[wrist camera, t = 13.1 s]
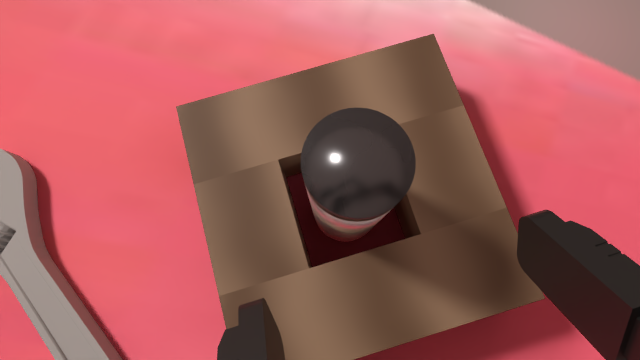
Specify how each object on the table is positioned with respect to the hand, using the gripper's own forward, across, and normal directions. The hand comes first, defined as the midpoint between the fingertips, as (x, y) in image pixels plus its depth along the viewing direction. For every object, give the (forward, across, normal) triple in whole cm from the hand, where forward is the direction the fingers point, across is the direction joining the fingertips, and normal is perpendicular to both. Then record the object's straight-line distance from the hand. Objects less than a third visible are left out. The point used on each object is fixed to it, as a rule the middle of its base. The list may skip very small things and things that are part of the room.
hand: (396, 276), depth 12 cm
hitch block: (+11, 0, +5) cm, 13 cm away
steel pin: (+11, 0, +6) cm, 12 cm away
